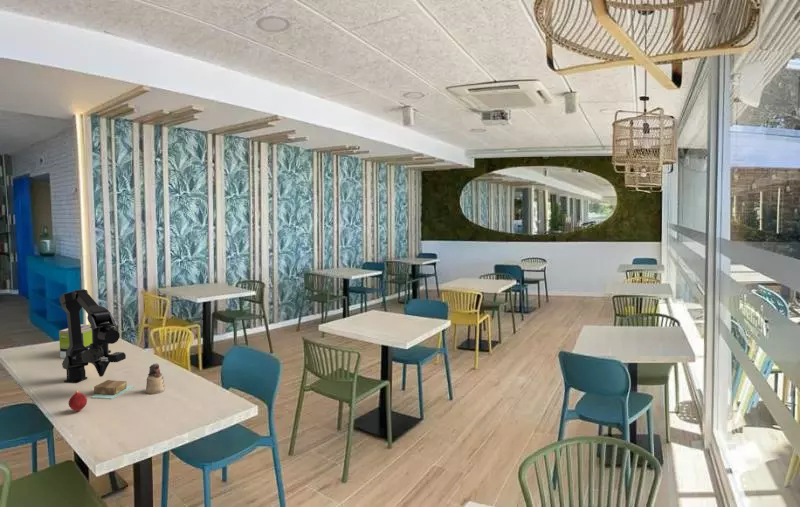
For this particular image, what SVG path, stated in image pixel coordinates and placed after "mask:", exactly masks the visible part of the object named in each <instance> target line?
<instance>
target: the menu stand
mask: <svg viewBox="0 0 800 507" xmlns="http://www.w3.org/2000/svg"><path fill="white" fill-rule="evenodd" d="M126 386H127V381H125V380H115V379H113V380H109V379H107V380H105V381H103V382H100V383H99V384H96V385H95V386H93V393H94V394H93V395H95V394H106V395H115V394H117V393H118V392H120V391H122V390H124V389H126Z"/></svg>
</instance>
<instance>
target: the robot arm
mask: <svg viewBox="0 0 800 507" xmlns="http://www.w3.org/2000/svg"><path fill="white" fill-rule="evenodd" d="M59 303H60V305H61V308H62V309H63V311H64V312H65V313H66V320H67V328H68V333H69V344H70V346H69V347H68V349H67V351H66V357H65V358H63V361H62V363H61V365H62V369H64V370H66V379H65V380H63V381H64V383H75V384H76V383H80V382H82V381H84V380H87V379H88V376H86V374H87V373H86V368H85V367H86V366H89V364H91V365H93V366H94V368H95V370H96V372H97V374H98V376H99V377H101V378H102V377H104V374H105V373H106V370H107V368H108V366H109V364H110V363H119V362H121V361H123V360H125V359H126V356H127V355H126V353H125V352H123V351H115V352H113V353H111V352H112V350H111V349H109V344H110V345H111V344H112V345H113V344H116V343H117V342H118V341H119V339H120V332H119V331H118V330H116V329H115V326H116V324H115V319H114V318H113V315H112V314H111V311H109V309H107V308H106V307H105V306H100V305H99V304H98V303H97V302H96V301H95V300H94V298H93V297H92V296H91V295H90V294H89V292H88V290H87V289H85V288H83V289H75V290H73V291H71V292H64V293H62V294H61V295H60V296H59ZM82 308H83V310H84V311H85V312H86V314H87V317H86V319H87V321H88V322H89V325H91V327H90V328H92V343H91V344H90V348H89V349H88V348H87V347H85V346H84V345H83V344H82V333H81V324H82V323H81V322H82V321H81V314H80V312H81V310H82Z"/></svg>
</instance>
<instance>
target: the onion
mask: <svg viewBox="0 0 800 507" xmlns="http://www.w3.org/2000/svg"><path fill="white" fill-rule="evenodd" d="M87 402H88V398H87V396H86V395H85V394H84V393H82V392H80V391H79V390H76V391H75V392H74V394H73V395H72V396H71V397H70V398H69V401H68V407H69V408H70V409H72V410H73V411H75V412H80V411H82V410H83V409H84V408H85V407H86V405H87Z"/></svg>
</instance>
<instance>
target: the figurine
mask: <svg viewBox="0 0 800 507" xmlns="http://www.w3.org/2000/svg"><path fill="white" fill-rule="evenodd" d="M165 390H166V385H165V379H164V375H163V373H161V369H160V365H159V363H157V362H156V363H153V364H151V365H150V366H149V373H148V374H147V378H146V388H145V392H146V394H148V395H149V394H150V395H155V394H161V393H163V392H165Z"/></svg>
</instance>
